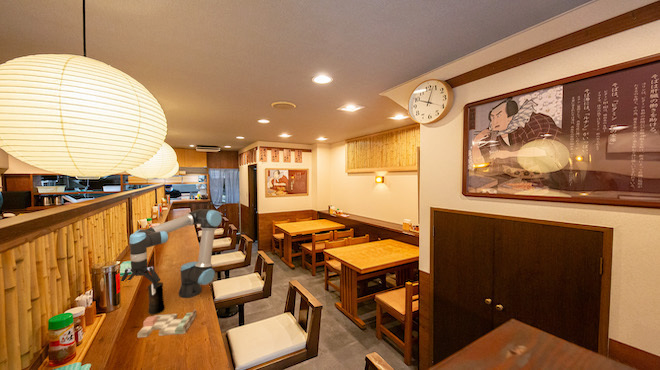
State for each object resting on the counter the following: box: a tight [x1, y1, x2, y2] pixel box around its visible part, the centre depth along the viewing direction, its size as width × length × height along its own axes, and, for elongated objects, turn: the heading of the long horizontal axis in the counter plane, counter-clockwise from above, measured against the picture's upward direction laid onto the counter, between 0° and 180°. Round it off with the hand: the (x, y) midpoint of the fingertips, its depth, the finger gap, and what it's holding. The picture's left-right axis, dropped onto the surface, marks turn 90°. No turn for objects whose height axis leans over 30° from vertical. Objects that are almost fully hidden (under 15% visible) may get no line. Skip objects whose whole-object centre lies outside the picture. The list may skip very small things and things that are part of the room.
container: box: [147, 281, 165, 316], centre depth 165 cm, size 9×9×18 cm
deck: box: [136, 308, 197, 339], centre depth 150 cm, size 17×25×4 cm
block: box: [142, 315, 157, 327], centre depth 148 cm, size 5×5×3 cm
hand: (140, 294), depth 145 cm, fingers open, 13 cm apart
